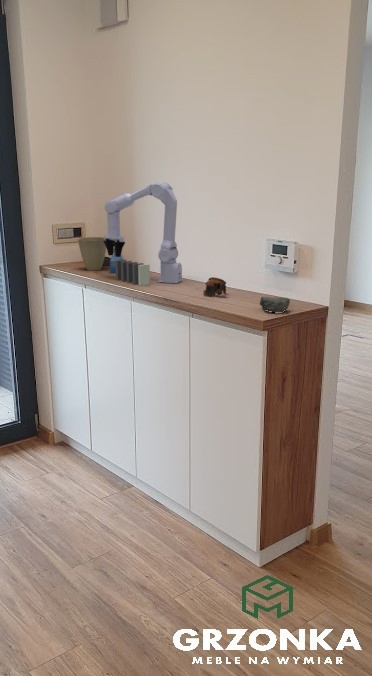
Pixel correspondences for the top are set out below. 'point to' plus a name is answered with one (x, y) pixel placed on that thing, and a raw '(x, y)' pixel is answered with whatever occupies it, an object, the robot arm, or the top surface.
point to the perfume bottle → (113, 263)
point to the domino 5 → (144, 274)
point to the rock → (274, 304)
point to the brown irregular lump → (215, 287)
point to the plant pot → (92, 252)
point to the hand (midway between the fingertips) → (114, 256)
